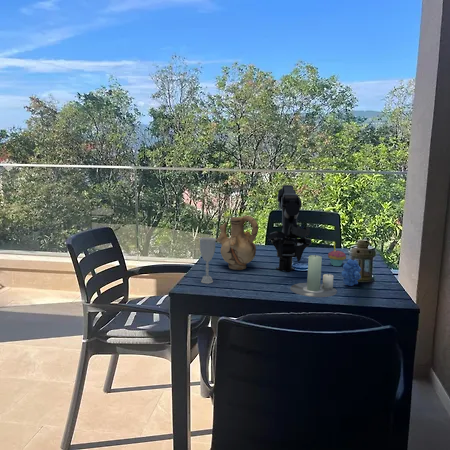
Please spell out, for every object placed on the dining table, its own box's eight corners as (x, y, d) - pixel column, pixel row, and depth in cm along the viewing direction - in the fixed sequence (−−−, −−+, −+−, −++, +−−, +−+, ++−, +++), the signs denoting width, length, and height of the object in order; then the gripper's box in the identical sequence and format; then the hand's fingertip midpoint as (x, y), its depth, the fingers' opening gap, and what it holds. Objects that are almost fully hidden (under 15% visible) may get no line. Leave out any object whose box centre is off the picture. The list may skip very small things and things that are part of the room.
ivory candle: (325, 285, 183) (326, 271, 182) (334, 287, 181) (335, 273, 180) (320, 287, 180) (321, 273, 179) (329, 289, 178) (330, 275, 177)
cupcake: (326, 266, 218) (327, 241, 216) (328, 262, 226) (330, 238, 224) (344, 268, 215) (346, 243, 213) (346, 264, 223) (348, 240, 221)
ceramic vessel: (251, 262, 223) (253, 211, 219) (263, 272, 205) (265, 217, 200) (215, 263, 219) (215, 212, 215) (223, 274, 200) (224, 218, 196)
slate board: (304, 282, 190) (304, 279, 190) (344, 292, 179) (345, 288, 179) (281, 293, 176) (281, 289, 176) (323, 303, 165) (323, 300, 165)
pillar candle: (307, 286, 181) (309, 252, 178) (320, 288, 179) (322, 253, 177) (306, 290, 176) (308, 255, 174) (319, 291, 175) (321, 256, 172)
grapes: (350, 292, 178) (352, 263, 176) (336, 288, 184) (338, 259, 182) (368, 287, 186) (370, 259, 183) (354, 283, 191) (356, 255, 189)
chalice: (218, 280, 191) (218, 238, 188) (212, 284, 185) (213, 241, 182) (201, 278, 194) (202, 236, 191) (195, 282, 187) (196, 239, 184)
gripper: (284, 214, 180) (284, 253, 176) (320, 223, 190) (320, 259, 185) (268, 220, 190) (267, 257, 185) (302, 228, 199) (302, 263, 194)
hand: (290, 259), depth 187 cm, fingers open, 9 cm apart
